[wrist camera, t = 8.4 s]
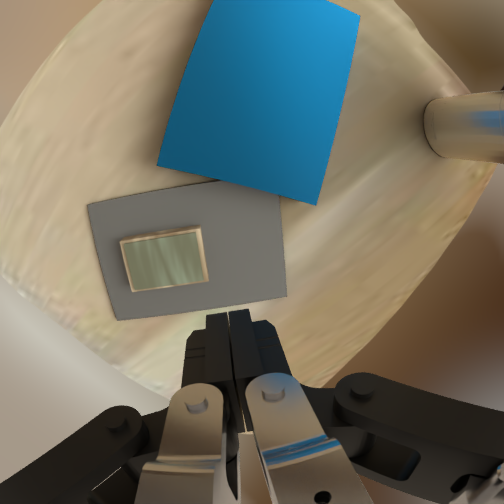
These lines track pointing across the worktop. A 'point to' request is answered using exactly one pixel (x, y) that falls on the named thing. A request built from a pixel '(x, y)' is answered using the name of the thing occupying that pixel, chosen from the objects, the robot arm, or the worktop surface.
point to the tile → (165, 258)
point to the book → (263, 95)
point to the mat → (214, 239)
